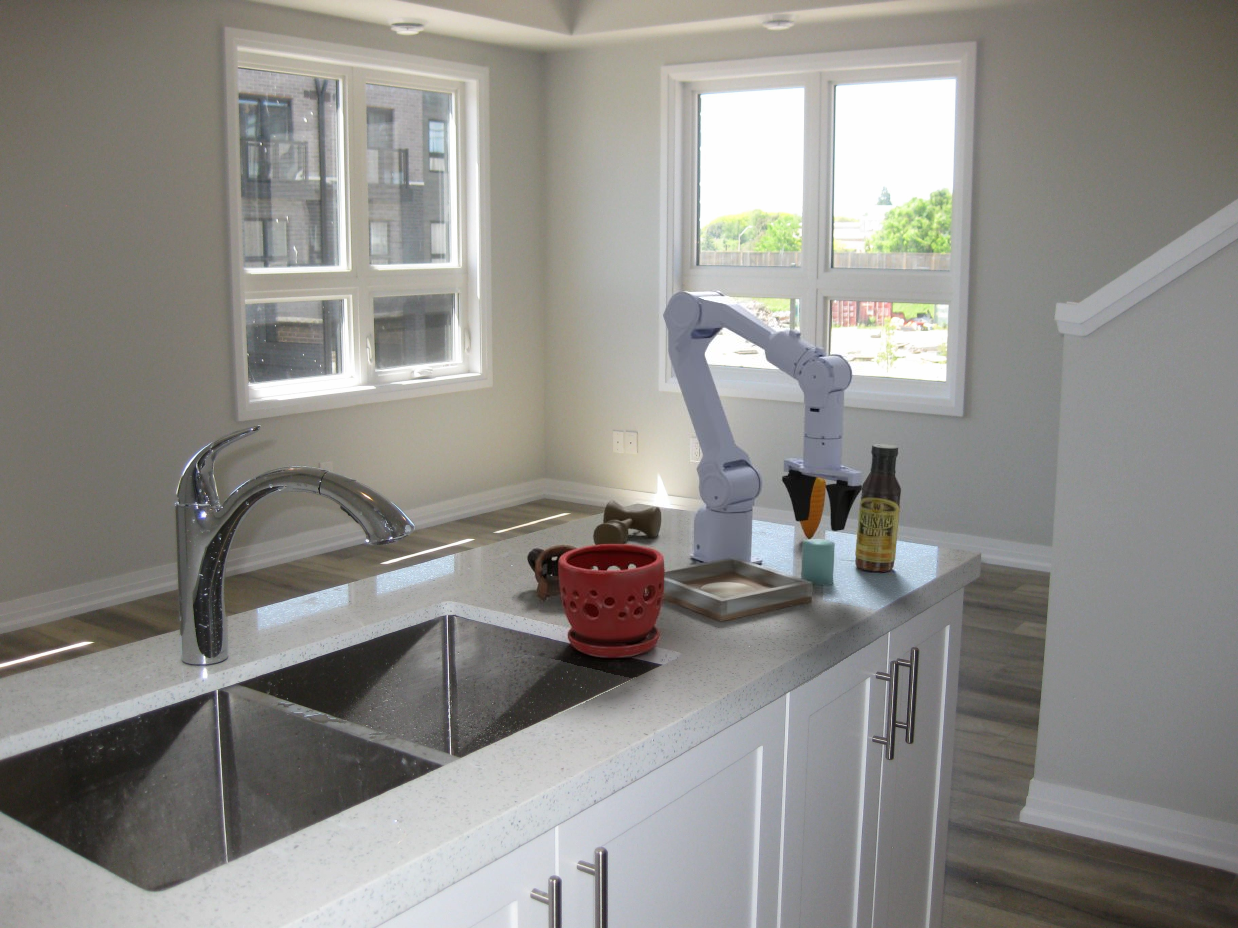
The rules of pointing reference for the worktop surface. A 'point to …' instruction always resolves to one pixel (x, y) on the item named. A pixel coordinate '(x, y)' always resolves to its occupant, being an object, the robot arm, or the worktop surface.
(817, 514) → the carrot
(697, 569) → the corral
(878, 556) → the sauce bottle
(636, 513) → the kendama
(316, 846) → the worktop surface
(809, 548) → the teal cylinder
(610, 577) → the plant pot
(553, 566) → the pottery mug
